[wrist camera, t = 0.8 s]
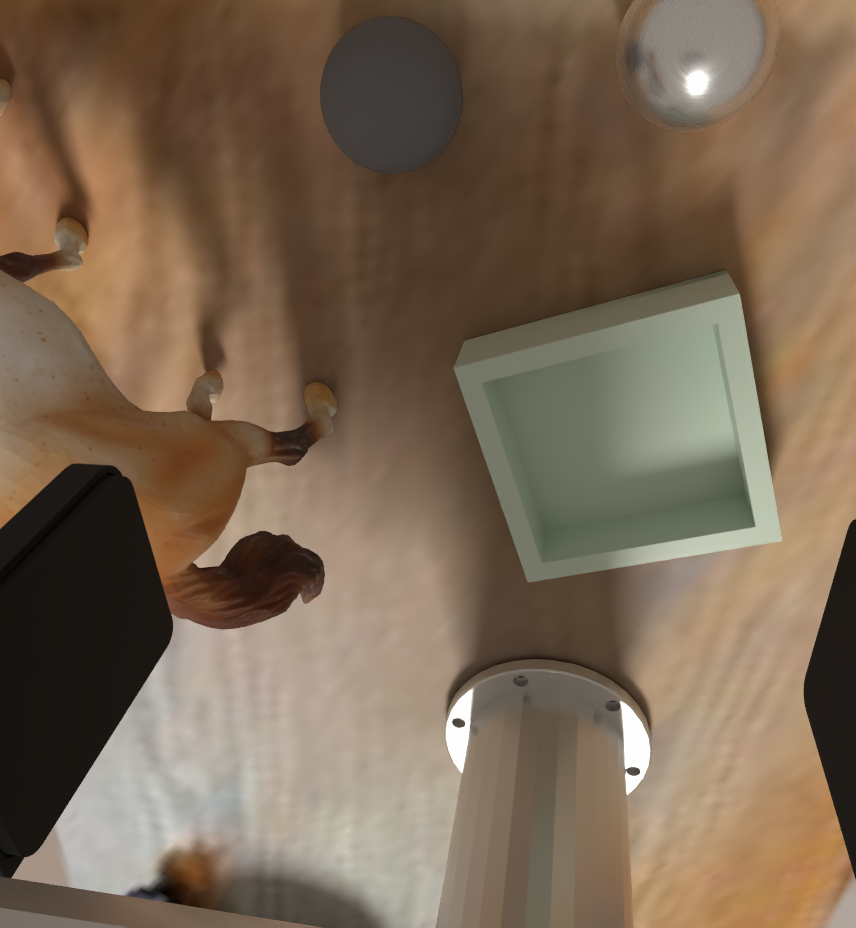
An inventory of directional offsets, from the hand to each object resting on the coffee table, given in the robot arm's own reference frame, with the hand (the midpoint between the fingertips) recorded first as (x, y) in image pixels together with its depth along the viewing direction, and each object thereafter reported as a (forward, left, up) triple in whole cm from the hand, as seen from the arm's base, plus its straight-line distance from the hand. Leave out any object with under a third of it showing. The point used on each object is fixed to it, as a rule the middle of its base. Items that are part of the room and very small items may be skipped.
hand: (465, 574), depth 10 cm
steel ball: (+4, -6, -27) cm, 28 cm away
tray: (-11, 0, -27) cm, 29 cm away
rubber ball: (+6, +5, -27) cm, 28 cm away
